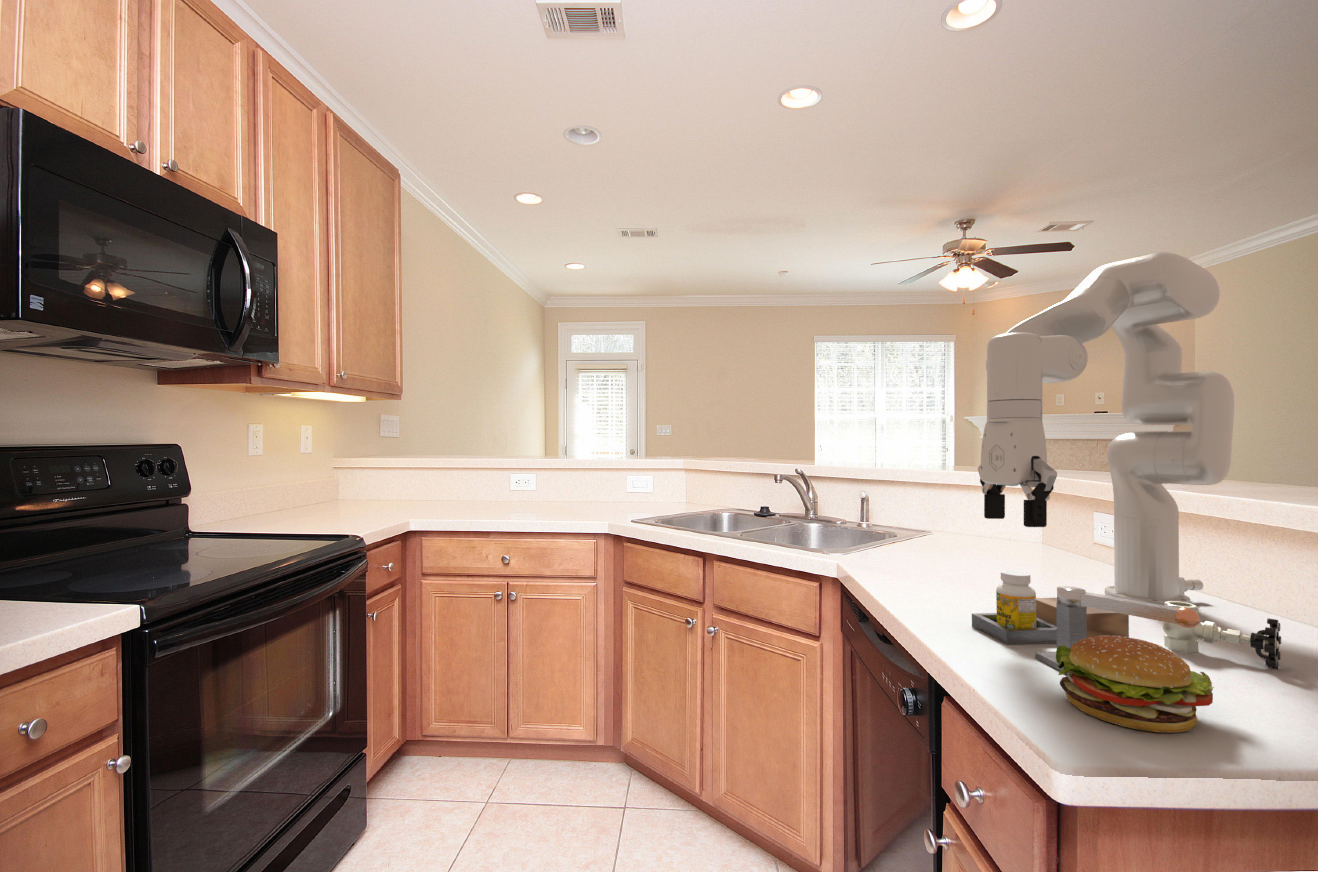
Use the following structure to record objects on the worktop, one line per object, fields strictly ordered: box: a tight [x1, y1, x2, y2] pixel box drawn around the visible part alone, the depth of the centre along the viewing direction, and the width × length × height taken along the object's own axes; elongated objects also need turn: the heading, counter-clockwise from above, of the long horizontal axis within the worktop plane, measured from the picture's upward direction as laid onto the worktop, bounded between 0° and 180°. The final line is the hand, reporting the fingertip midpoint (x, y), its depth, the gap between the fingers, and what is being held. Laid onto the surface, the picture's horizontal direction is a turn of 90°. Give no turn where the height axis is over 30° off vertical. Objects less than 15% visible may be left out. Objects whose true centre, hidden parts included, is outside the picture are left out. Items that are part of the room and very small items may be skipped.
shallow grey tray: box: [971, 612, 1057, 646], centre depth 95 cm, size 9×9×2 cm
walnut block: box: [1036, 597, 1130, 638], centre depth 96 cm, size 9×9×4 cm
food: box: [1055, 635, 1215, 733], centre depth 68 cm, size 14×14×8 cm
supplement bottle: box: [995, 569, 1037, 629], centre depth 95 cm, size 5×5×10 cm
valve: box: [1161, 601, 1282, 670], centre depth 85 cm, size 7×7×12 cm
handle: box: [1056, 585, 1201, 628], centre depth 77 cm, size 15×3×2 cm, turn 36°
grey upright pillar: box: [1034, 602, 1087, 676], centre depth 82 cm, size 6×6×8 cm
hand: (1013, 522), depth 94 cm, fingers open, 9 cm apart
